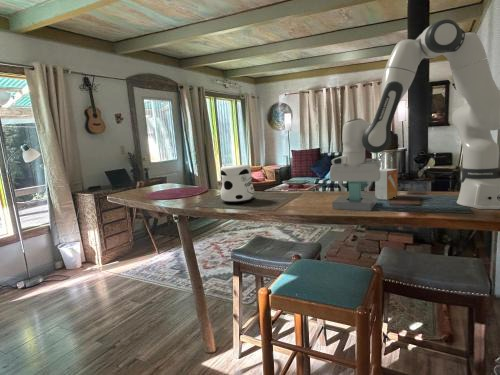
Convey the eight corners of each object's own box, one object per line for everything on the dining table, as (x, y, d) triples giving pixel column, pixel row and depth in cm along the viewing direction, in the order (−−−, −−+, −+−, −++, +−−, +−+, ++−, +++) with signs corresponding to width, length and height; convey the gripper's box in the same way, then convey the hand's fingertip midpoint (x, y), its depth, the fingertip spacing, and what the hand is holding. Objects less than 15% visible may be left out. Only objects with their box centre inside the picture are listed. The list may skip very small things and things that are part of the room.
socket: (376, 202, 139) (376, 196, 138) (370, 210, 126) (370, 203, 126) (341, 201, 146) (341, 195, 146) (332, 209, 134) (332, 202, 133)
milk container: (260, 201, 160) (257, 165, 157) (227, 206, 153) (224, 169, 150) (247, 196, 175) (245, 163, 173) (217, 201, 169) (214, 167, 166)
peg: (361, 205, 137) (360, 182, 135) (359, 207, 133) (358, 183, 132) (351, 204, 139) (350, 181, 137) (349, 206, 135) (348, 183, 134)
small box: (387, 200, 143) (387, 171, 141) (374, 198, 148) (374, 170, 146) (397, 197, 147) (397, 168, 145) (385, 195, 152) (385, 168, 150)
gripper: (381, 157, 131) (382, 190, 133) (332, 159, 141) (333, 189, 143) (379, 158, 125) (380, 193, 127) (327, 160, 135) (329, 192, 138)
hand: (354, 191), depth 135 cm, fingers open, 8 cm apart
